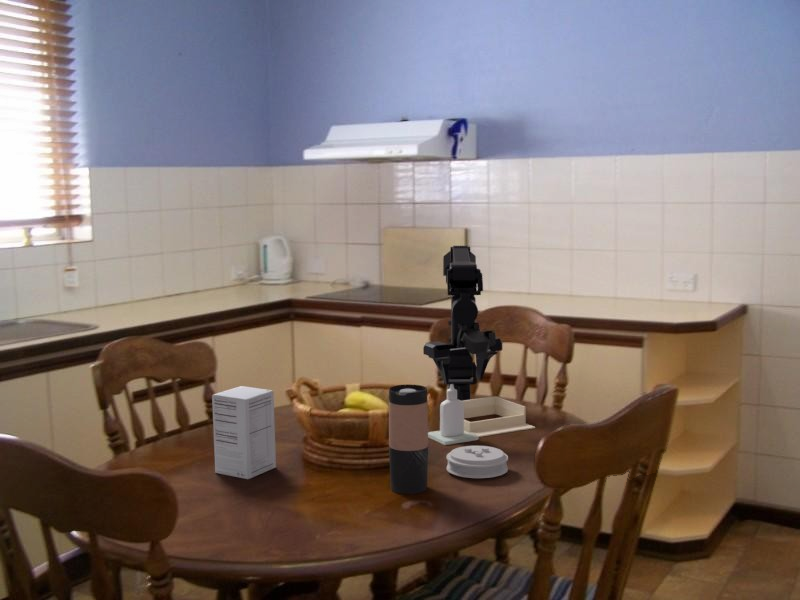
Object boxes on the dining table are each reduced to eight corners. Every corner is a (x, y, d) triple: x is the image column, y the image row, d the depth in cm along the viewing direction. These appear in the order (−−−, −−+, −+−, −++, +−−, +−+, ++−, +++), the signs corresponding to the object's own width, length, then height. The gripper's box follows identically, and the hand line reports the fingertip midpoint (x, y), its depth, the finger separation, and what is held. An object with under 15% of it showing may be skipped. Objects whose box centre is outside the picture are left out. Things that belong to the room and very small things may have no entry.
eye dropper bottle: (439, 432, 225) (439, 382, 223) (463, 432, 225) (463, 382, 223) (440, 437, 220) (440, 386, 219) (464, 436, 220) (464, 386, 219)
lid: (470, 486, 188) (470, 462, 187) (434, 470, 199) (434, 447, 198) (520, 475, 195) (520, 452, 194) (483, 460, 205) (483, 438, 205)
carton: (441, 421, 238) (441, 403, 238) (495, 413, 246) (495, 396, 245) (478, 437, 223) (479, 418, 223) (535, 428, 231) (535, 410, 230)
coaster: (425, 435, 224) (425, 432, 224) (458, 430, 229) (458, 427, 229) (445, 445, 217) (445, 441, 217) (478, 439, 221) (478, 436, 221)
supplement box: (243, 461, 206) (241, 385, 203) (277, 467, 201) (275, 389, 199) (213, 473, 197) (210, 393, 195) (247, 480, 193) (245, 398, 191)
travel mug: (419, 480, 191) (418, 382, 189) (434, 491, 184) (434, 390, 182) (383, 485, 189) (382, 386, 186) (397, 496, 182) (396, 394, 179)
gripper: (446, 326, 212) (446, 394, 214) (515, 318, 220) (515, 384, 222) (422, 318, 221) (422, 384, 224) (489, 312, 230) (489, 375, 232)
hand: (463, 382), depth 225 cm, fingers open, 9 cm apart
